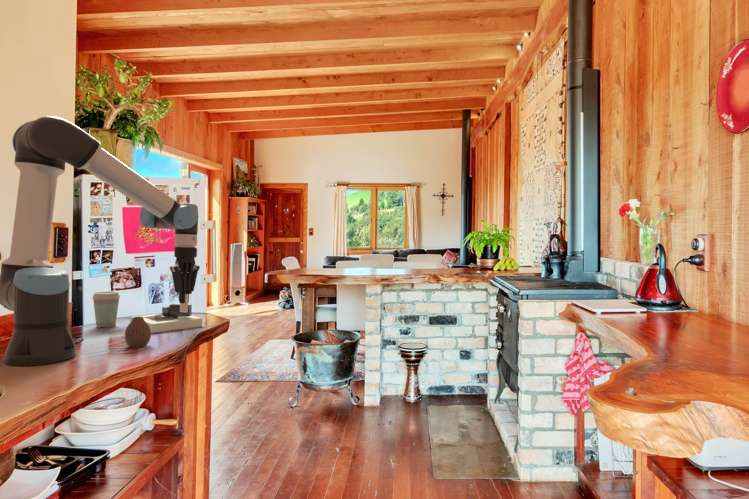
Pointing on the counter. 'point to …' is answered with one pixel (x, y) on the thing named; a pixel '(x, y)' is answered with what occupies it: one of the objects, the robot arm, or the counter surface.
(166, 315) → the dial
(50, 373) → the counter surface
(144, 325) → the vase
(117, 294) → the coffee cup
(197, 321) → the dial board
